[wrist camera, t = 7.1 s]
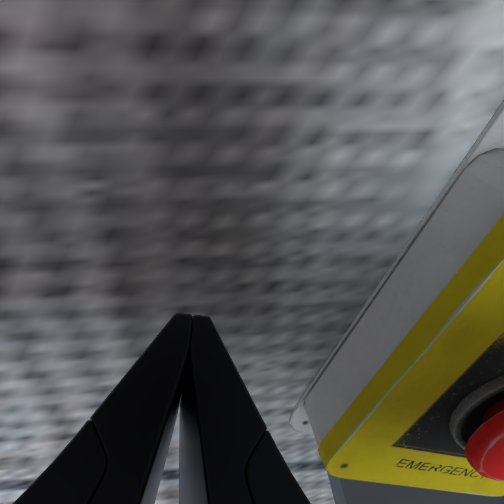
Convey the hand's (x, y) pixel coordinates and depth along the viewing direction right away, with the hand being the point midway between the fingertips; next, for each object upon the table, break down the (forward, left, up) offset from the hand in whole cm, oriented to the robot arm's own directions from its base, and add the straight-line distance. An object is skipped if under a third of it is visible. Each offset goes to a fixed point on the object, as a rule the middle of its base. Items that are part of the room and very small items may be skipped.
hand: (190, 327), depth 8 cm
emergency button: (0, -10, -3) cm, 11 cm away
